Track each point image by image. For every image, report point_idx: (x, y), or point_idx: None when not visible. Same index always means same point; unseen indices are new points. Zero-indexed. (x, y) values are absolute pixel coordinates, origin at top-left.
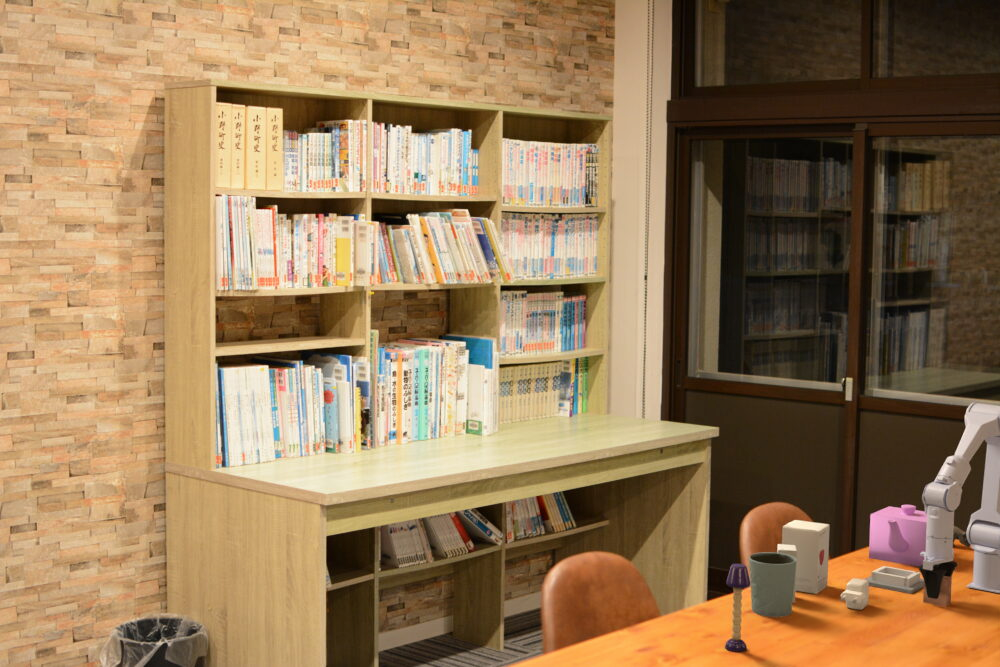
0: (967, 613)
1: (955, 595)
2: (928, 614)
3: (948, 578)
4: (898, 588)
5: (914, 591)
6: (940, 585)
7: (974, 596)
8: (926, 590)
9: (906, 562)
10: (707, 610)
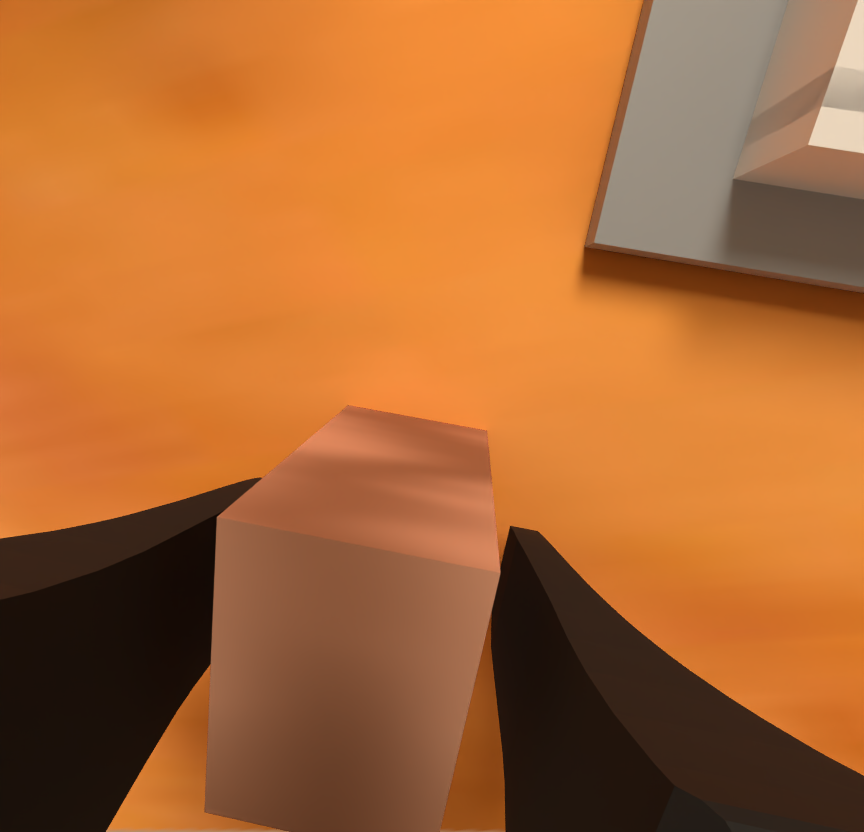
0: None
1: (731, 614)
2: (37, 494)
3: (337, 830)
4: (633, 73)
5: (686, 263)
6: (182, 689)
7: None
8: (215, 490)
9: None
10: None
